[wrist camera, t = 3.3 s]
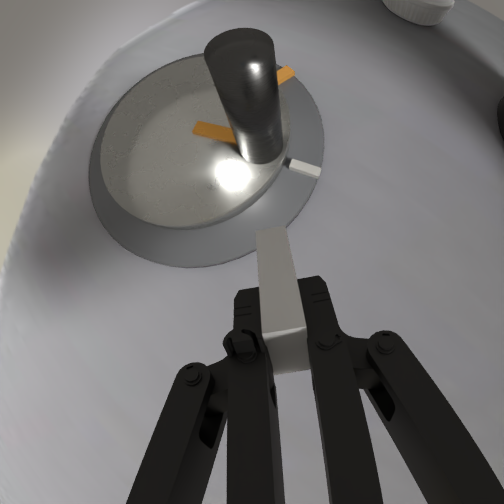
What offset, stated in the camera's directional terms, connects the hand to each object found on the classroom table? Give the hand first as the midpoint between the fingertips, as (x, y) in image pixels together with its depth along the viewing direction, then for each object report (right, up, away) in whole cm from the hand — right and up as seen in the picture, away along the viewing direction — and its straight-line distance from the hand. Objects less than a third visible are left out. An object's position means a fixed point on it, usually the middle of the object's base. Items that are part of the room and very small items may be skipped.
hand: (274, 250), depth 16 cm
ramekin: (+22, +35, +13) cm, 44 cm away
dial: (-7, +11, +11) cm, 17 cm away
